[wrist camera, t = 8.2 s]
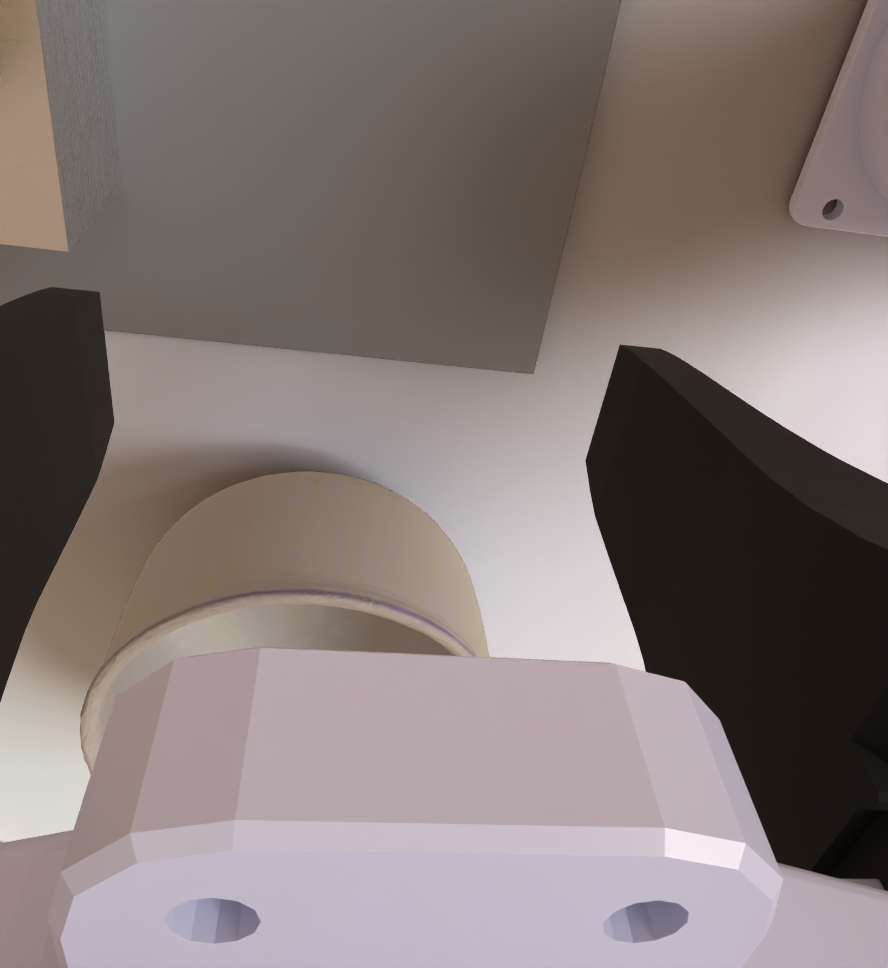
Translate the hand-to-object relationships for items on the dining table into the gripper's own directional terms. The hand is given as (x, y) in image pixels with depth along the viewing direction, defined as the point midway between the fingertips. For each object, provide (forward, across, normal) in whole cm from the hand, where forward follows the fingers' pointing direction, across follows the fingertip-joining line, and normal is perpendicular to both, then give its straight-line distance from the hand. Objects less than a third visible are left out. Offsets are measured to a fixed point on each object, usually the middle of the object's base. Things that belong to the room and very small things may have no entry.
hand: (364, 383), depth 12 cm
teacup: (+11, 0, +14) cm, 18 cm away
